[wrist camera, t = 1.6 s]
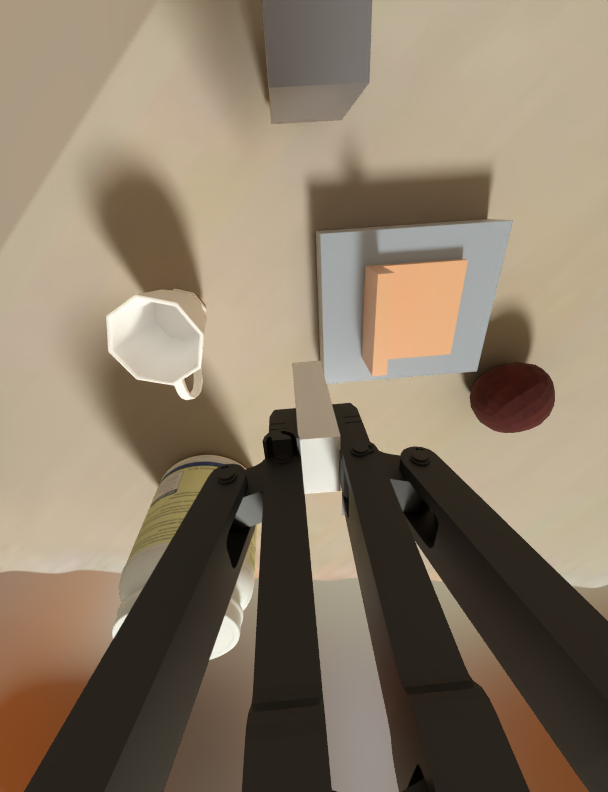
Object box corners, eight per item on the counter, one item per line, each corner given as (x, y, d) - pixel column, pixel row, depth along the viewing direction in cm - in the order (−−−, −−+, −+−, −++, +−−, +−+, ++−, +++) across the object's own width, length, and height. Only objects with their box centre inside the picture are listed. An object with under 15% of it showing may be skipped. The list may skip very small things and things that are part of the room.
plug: (271, 127, 24) (269, 87, 16) (263, 30, 21) (255, -75, 13) (338, 123, 24) (369, 82, 16) (338, 26, 21) (374, -79, 14)
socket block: (320, 368, 34) (324, 384, 31) (315, 231, 27) (320, 233, 24) (459, 357, 35) (476, 371, 32) (487, 219, 28) (512, 220, 25)
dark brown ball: (446, 384, 36) (480, 419, 30) (508, 336, 34) (559, 365, 28) (477, 420, 39) (514, 459, 33) (537, 379, 37) (588, 413, 31)
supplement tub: (141, 483, 40) (64, 639, 26) (211, 432, 37) (170, 577, 23) (212, 530, 46) (181, 681, 31) (279, 489, 43) (280, 636, 28)
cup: (208, 266, 28) (186, 285, 21) (238, 367, 33) (228, 409, 26) (130, 280, 28) (83, 303, 21) (172, 379, 33) (144, 424, 27)
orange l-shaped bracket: (361, 357, 30) (372, 376, 27) (365, 265, 26) (377, 274, 22) (446, 350, 30) (467, 368, 27) (463, 258, 26) (489, 265, 23)
